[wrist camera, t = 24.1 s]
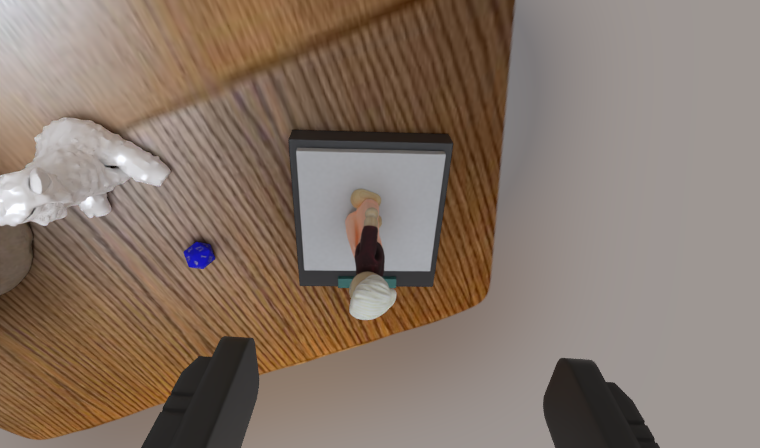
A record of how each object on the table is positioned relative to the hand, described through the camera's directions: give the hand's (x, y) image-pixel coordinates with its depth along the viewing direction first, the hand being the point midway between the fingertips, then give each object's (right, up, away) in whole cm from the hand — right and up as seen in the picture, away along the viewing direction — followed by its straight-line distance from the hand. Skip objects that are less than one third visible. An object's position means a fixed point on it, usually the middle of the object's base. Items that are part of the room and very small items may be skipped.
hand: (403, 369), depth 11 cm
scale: (-2, +5, +30) cm, 31 cm away
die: (-19, +1, +32) cm, 37 cm away
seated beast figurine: (-26, +10, +26) cm, 38 cm away
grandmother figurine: (-2, +5, +27) cm, 28 cm away
